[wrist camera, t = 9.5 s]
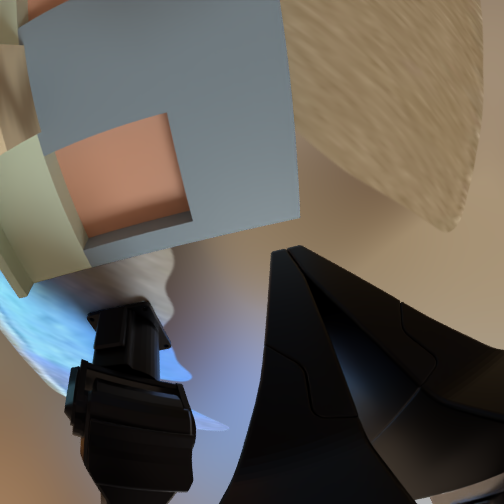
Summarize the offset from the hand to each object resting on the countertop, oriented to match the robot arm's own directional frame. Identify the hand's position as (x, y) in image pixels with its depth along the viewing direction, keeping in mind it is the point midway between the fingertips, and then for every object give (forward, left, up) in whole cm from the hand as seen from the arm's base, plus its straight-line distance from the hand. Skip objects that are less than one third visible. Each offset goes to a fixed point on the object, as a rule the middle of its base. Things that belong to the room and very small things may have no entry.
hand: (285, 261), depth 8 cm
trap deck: (+8, +7, -12) cm, 16 cm away
